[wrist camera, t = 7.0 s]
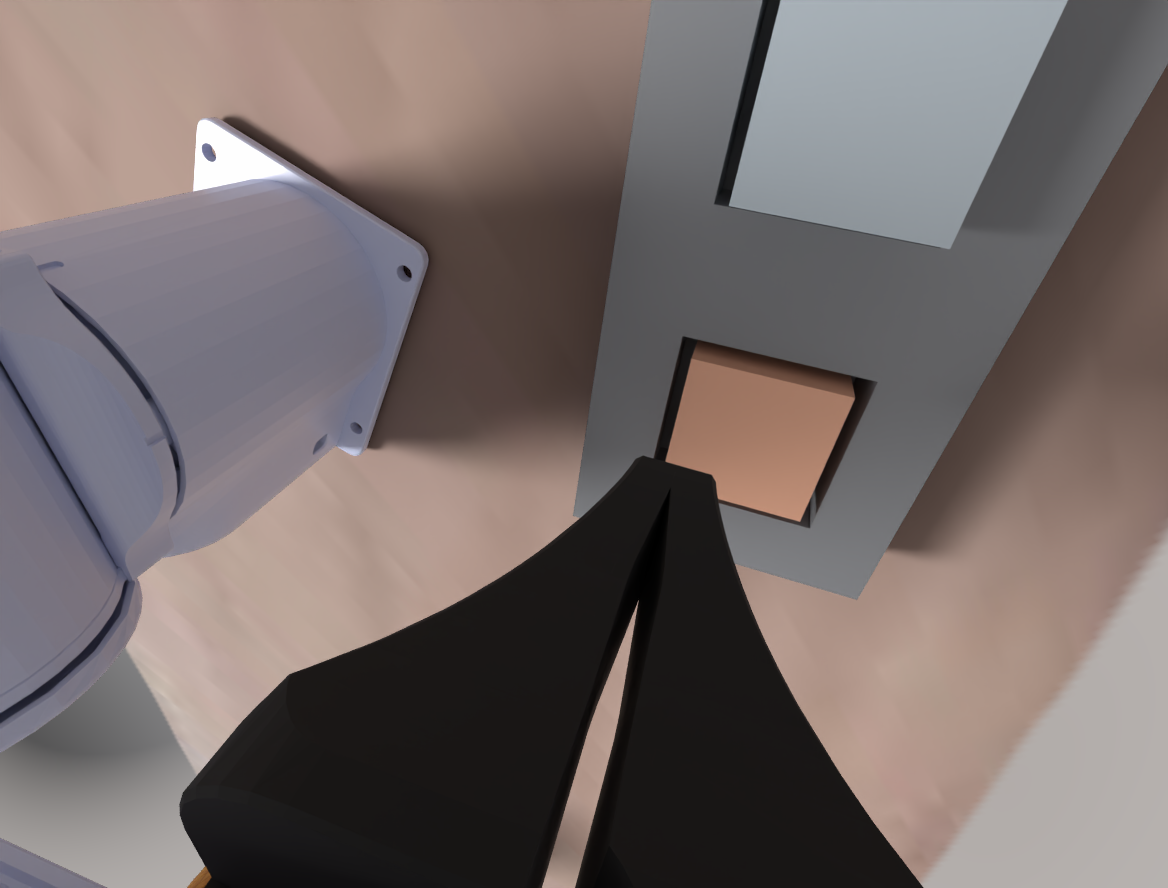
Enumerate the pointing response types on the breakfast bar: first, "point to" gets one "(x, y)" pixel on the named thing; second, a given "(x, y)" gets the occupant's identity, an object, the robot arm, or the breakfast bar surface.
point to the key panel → (837, 271)
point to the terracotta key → (759, 426)
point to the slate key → (887, 110)
